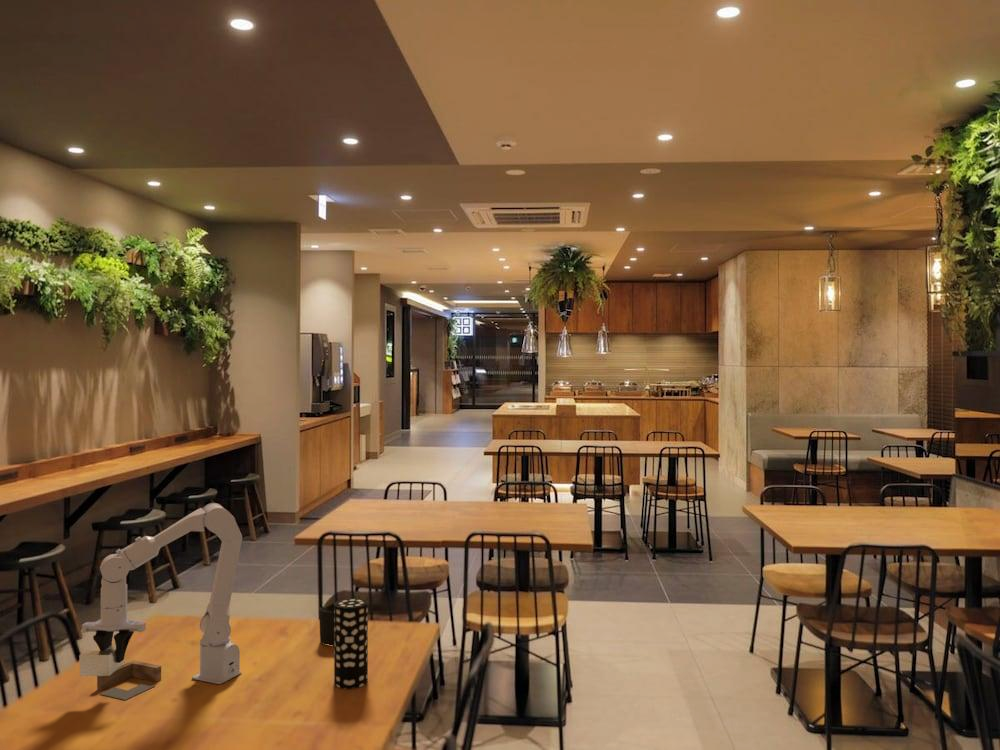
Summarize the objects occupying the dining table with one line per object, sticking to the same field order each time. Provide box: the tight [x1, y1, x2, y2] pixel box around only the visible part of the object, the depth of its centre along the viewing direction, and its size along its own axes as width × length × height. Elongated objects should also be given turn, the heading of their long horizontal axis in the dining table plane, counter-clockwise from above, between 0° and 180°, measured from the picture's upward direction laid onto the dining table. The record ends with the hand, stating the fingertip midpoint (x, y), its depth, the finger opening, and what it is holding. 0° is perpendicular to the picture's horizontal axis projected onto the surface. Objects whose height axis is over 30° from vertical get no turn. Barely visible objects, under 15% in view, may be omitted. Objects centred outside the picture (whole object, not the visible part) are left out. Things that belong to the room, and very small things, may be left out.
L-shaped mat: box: [99, 682, 156, 701], centre depth 176 cm, size 8×8×1 cm
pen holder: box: [318, 602, 335, 645], centre depth 210 cm, size 9×9×10 cm
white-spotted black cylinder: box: [333, 597, 369, 690], centre depth 181 cm, size 8×8×20 cm
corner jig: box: [96, 660, 162, 691], centre depth 179 cm, size 10×10×4 cm
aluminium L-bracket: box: [79, 642, 126, 677], centre depth 172 cm, size 7×7×5 cm
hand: (113, 661), depth 173 cm, fingers closed on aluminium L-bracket, 2 cm apart
